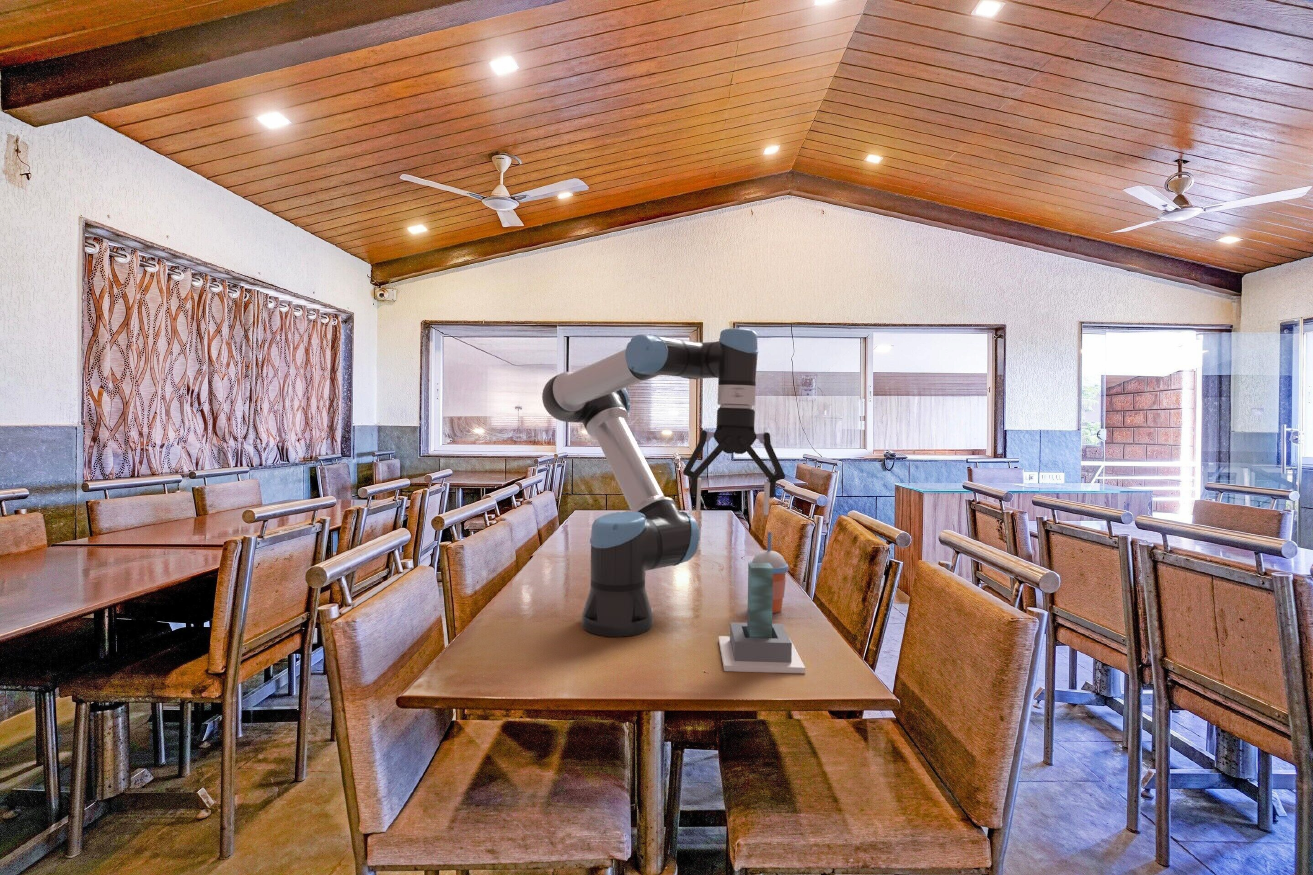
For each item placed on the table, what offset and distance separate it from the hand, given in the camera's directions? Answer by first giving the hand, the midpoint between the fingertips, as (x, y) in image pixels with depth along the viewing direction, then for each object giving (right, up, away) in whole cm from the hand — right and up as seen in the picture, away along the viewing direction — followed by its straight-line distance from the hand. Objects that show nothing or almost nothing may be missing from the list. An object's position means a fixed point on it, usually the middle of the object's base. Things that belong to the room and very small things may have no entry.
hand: (731, 512), depth 117 cm
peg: (+4, -25, -9) cm, 27 cm away
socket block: (+4, -26, -9) cm, 27 cm away
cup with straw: (+11, -25, +18) cm, 33 cm away
